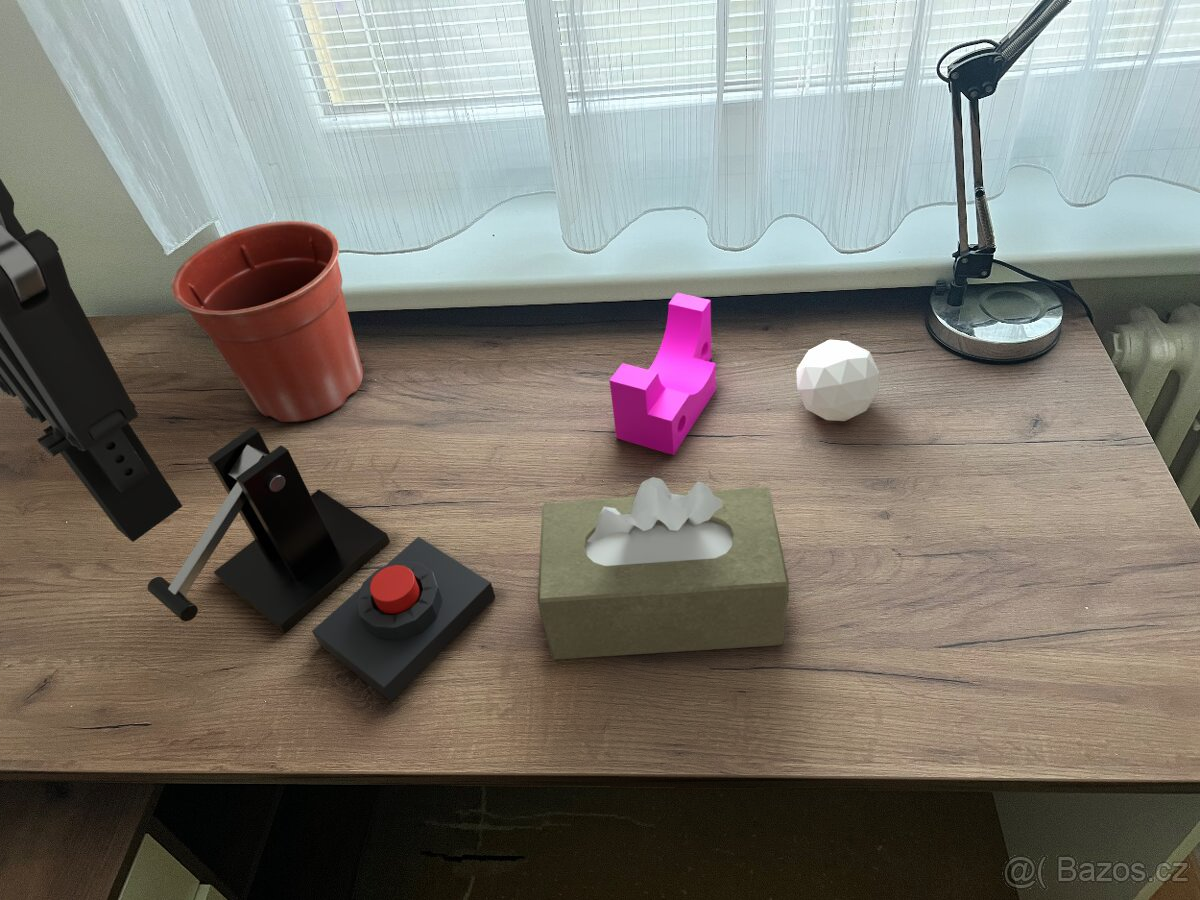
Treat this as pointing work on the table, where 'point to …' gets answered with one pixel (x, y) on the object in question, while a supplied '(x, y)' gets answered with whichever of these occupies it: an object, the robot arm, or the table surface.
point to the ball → (837, 380)
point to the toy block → (668, 381)
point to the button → (394, 589)
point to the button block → (405, 620)
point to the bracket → (289, 536)
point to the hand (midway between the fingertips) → (149, 517)
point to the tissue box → (662, 572)
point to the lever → (204, 544)
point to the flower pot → (276, 316)
